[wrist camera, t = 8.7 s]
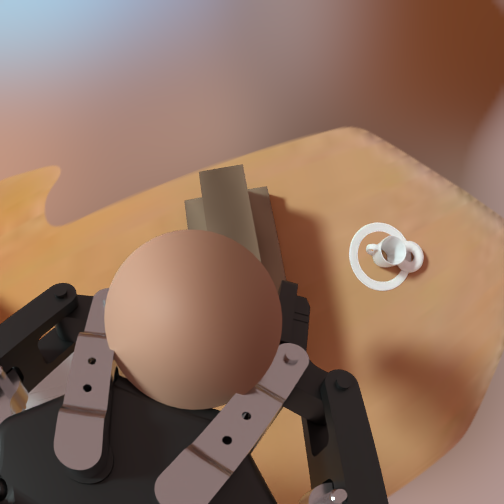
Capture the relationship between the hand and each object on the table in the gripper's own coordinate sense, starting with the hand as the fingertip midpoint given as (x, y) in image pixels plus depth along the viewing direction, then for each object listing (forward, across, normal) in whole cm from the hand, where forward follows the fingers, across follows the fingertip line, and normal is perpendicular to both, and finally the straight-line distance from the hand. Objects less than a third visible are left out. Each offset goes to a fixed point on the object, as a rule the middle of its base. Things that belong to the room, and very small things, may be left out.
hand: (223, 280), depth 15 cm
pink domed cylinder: (+2, 0, +4) cm, 5 cm away
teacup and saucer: (+19, -16, +10) cm, 27 cm away
